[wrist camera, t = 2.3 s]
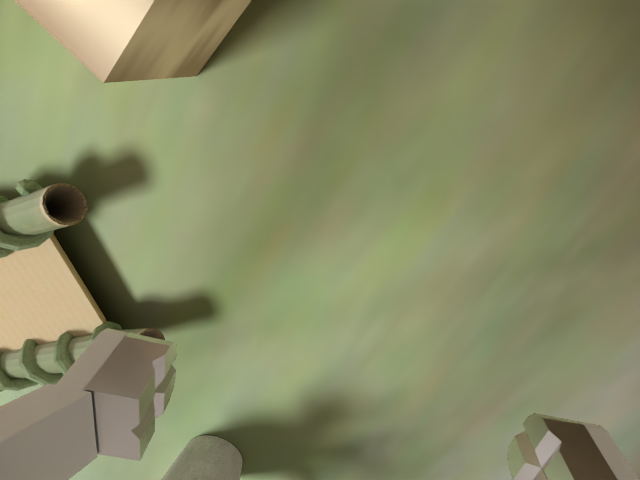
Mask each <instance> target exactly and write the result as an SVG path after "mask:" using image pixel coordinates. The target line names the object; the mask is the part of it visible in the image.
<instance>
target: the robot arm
mask: <svg viewBox="0 0 640 480" xmlns="http://www.w3.org/2000/svg"><path fill="white" fill-rule="evenodd" d="M176 347H177V344H175V343H174V342H170V341H165V340H161V339H157V338H152V337H148V336H143V335H139V334H134V333H128V332H123V331H119V330H114V329H110V328H107V329H105V330H103V331H101V332H100V333H99V334H98V335H97V337H96V338H95V339H94V340H93V341H92V342H91V344H90V345H89V346H88V347H87V348H86V350H85V351H84V352H83V353H82V354H81V355H80V357H79V358H78V359H77V360H76V361H75V363H74V364H73V365H72V366H71V367H70V368H69V370H68V371H67V372H66V373H65V374H64V376H63V377H62V378H61V379H60V380H59V381H58V383H57V384H56V385H52V384H46V385H44V386H42V387H40V388H38V389H36V390H34V391H32V392H30V393H28V394H26V395H24V396H21V397H19V398H17V399H15V400H13V401H11V402H9V403H7V404H5V405H3V406H1V407H0V480H68V479H70V478H71V477H72V476H73V475H75V474H76V473H77V472H79V471H80V470H81V469H82V468H84V467H85V466H86V465H88V464H89V463H90V462H91V461H93V460H94V459H95V458H97V454H100V455H106V456H113V457H119V458H126V459H132V460H138V461H140V460H141V458H142V456H143V454H144V452H145V450H146V448H147V446H148V444H149V442H150V440H151V438H152V436H153V434H154V432H155V418H157V417H159V416H160V415H162V414H163V413H164V411H165V409H166V407H167V405H168V403H169V400H170V397H171V394H172V391H173V388H174V383H175V376H176V370H175V368H174V367H173V366H172V363H173V361H174V359H175V357H176ZM523 425H524V429H525V431H524V432H522V433H520V434H518V435H516V436H514V438H513V440H512V442H511V443H510V445H509V450H508V465H509V470H510V473H511V475H512V478H513V480H639V478H638V477H637V475H636V474H635V472H634V471H633V469H632V468H631V466H630V465H629V463H628V462H627V460H626V459H625V457H624V456H623V454H622V453H621V451H620V450H619V448H618V447H617V445H616V444H615V442H614V441H613V439H612V438H611V436H610V435H609V433H608V432H607V431H606V430H605V429H604V428H603V427H601V426H600V425H595V424H589V423H584V422H579V421H577V422H576V421H573V420H568V419H563V418H557V417H552V416H547V415H541V414H536V413H534V414H532V415H530V416H528V417H527V418H526V420H525V421H524V423H523Z"/></svg>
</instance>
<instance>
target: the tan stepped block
mask: <svg viewBox="0 0 640 480" xmlns="http://www.w3.org/2000/svg"><path fill="white" fill-rule="evenodd" d="M14 1H15V2H17V3H18V4H19V5H20V6H21V7H22V8H23V9H24V10H25V11H26V12H27V13H28V14H30V15H31V16H32V17H33V18H34V19H35V20H36V21H37V22H38V23H39V24H40V25H42V26H43V27H44V28H45V29H46V30H47V31H48V32H49V33H50V34H51V35H52V36H53V37H55V38H56V39H57V40H58V41H59V42H60V43H61V44H62V45H63V46H64V47H65V48H66V49H68V50H69V51H70V52H71V53H72V54H73V55H74V56H75V57H76V58H77V59H78V60H79V61H81V62H82V63H83V64H84V65H85V66H86V67H87V68H88V69H89V70H90V71H91V72H93V73H94V74H95V75H96V76H97V77H98V78H99V79H100V80H101V81H102V82H103V83H107V82H121V81H135V80H149V79H163V78H178V77H192V76H197V75H198V73H199V72H200V71H201V69H202V68H203V66H204V65H205V64H206V62H207V61H208V60H209V58H210V57H211V55H212V54H213V53H214V51H215V50H216V49H217V47H218V46H219V44H220V43H221V42H222V40H223V39H224V38H225V36H226V35H227V33H228V32H229V31H230V29H231V28H232V27H233V25H234V24H235V22H236V21H237V20H238V18H239V17H240V16H241V14H242V13H243V11H244V10H245V9H246V7H247V6H248V5H249V3H250V2H251V0H14Z"/></svg>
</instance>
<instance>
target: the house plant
mask: <svg viewBox="0 0 640 480" xmlns="http://www.w3.org/2000/svg"><path fill="white" fill-rule="evenodd" d="M242 464H243V462H242V457H241V454H240V452H239V451H238V450H237V448H236V447H235V446H233V445H232V444H231V443H230V442H228V441H226V440H224V439H222V438H219V437H216V436H210V435H201V436H198V437H195V438H193V439H192V440H190V442H189V443H188V444H187V446H186V447H185V448H184V450H183V451H182V452H181V454H180V455H179V456H178V458H177V459H176V460H175V462H174V463H173V465H172V466H171V467H170V469H169V470H168V471H167V473H166V474H165V475H164V477H163V478H162V479H161V480H240V475H241V470H242Z"/></svg>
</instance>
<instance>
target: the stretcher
mask: <svg viewBox="0 0 640 480" xmlns="http://www.w3.org/2000/svg"><path fill="white" fill-rule="evenodd" d="M16 189H17V191H18V192H19V193H20V194H21V195H23V196H20V197H18V198H15V199H12V200H9V199H7V198H5V197H3V196H1V195H0V391H3V390H14V391H18V390H21V389H24V388H28V387H31V386H34V385H37V384H41V385H43V386H44V385H46V384H52V385H56V384H57V383H58V381H59V380H60V379H61V378H62V377H63V376H64V374H65V373H66V372H67V371H68V370H69V368H70V367H71V366H72V365H73V364H74V363H75V361H76V360H77V359H78V358H79V357H80V355H81V354H82V353H83V352H84V351H85V350H86V348H87V347H88V346H89V345H90V344H91V342H92V341H93V340H94V339H95V338H96V337H97V335H98V334H99V333H100V332H101V331H103V330H105V329H107V328H110V329H114V330H119V331H123V332H128V333H134V334H139V335H143V336H148V337H152V338H157V339H161V340H165V338H164V335H163V334H162V333H161V332H160V331H159V330H157V329H155V328H145V329H129V330H123V329H122V328H121V326H120V325H119V324H116V323H113V322H107V320H106V318H105V317H104V315H103V314H102V312H101V310H100V309H99V307H98V305H97V304H96V302H95V301H94V299H93V297H92V296H91V294H90V293H89V291H88V289H87V288H86V286H85V284H84V283H83V281H82V280H81V278H80V276H79V275H78V273H77V271H76V270H75V268H74V267H73V265H72V263H71V262H70V260H69V259H68V257H67V255H66V254H65V252H64V250H63V249H62V247H61V246H60V244H59V242H58V241H57V239H56V237H55V236H54V234H53V233H54V230H55V229H59V228H63V227H67V226H71V225H75V224H78V223H79V222H80V221H82V220H83V219H84V217H85V215H86V214H87V207H88V204H87V201H86V198H85V196H84V195H83V193H82V192H81V191H80V190H79V189H78V188H76V187H74V186H73V185H70V184H66V183H59V184H53V185H51V186H48V187H45V188H42V187H41V186H40V185H39V184H38V183H36V182H34V181H32V180H26V179H24V180H22V181H19V182H18V183H17V185H16Z"/></svg>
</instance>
